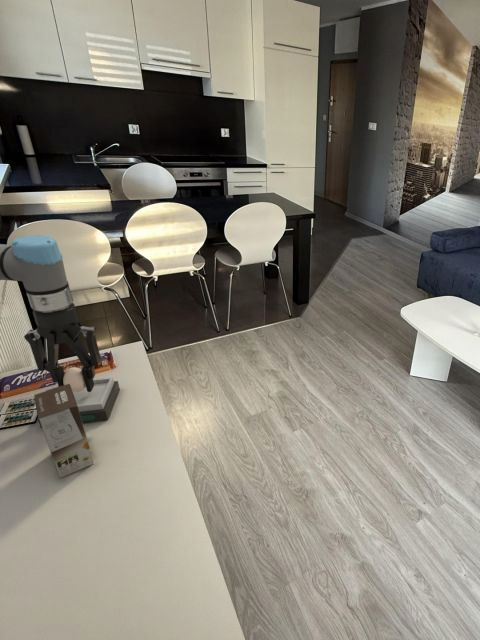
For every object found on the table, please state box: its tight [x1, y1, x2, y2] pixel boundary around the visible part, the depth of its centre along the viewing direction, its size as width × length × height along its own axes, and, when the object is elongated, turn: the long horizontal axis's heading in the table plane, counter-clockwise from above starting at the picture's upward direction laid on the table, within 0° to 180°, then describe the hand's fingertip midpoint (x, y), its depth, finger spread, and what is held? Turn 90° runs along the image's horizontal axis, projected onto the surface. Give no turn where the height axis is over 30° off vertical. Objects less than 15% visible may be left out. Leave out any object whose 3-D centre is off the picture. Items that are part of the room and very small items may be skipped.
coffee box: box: [33, 384, 94, 479], centre depth 83 cm, size 9×6×16 cm
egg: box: [63, 366, 86, 392], centre depth 96 cm, size 5×5×7 cm
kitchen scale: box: [37, 377, 121, 429], centre depth 99 cm, size 14×12×5 cm
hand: (78, 389), depth 98 cm, fingers closed on egg, 5 cm apart
